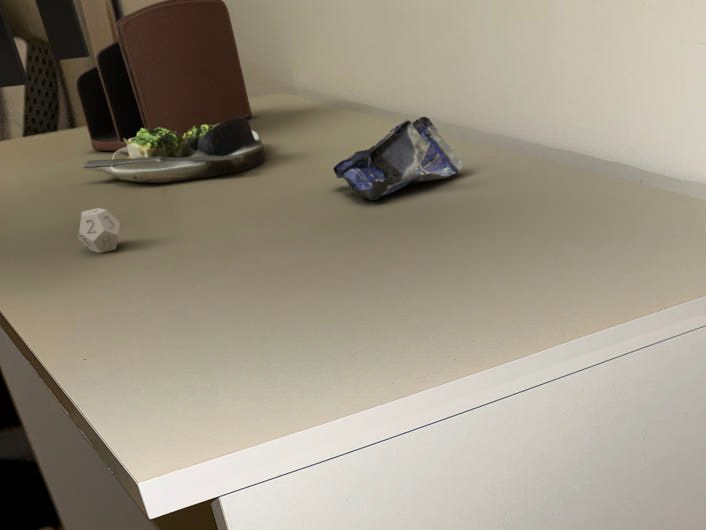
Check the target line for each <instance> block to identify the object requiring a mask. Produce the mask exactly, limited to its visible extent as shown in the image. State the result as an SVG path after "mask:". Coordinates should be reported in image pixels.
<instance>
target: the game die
mask: <svg viewBox="0 0 706 530" xmlns="http://www.w3.org/2000/svg"><path fill="white" fill-rule="evenodd" d="M120 225H121V221H119V220H118V219H117V218H116V217H115V216H114V215H113V214H112V213H111V212H110V211H109V210H108V209H106V208H99V207H97V208H93V209H87V210H84V211H81V216H80V223H79V228H78V238H77V239H78V240H79V241H80V242H81V243H82V244H83V245H84V246H85V247H86V248H87V249H88V250H89V251H91V252H94V253H98V254H102V253H106V252H110V251H114V250H117V246H118V241H119V240H118V239H119V233H120Z"/></svg>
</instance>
